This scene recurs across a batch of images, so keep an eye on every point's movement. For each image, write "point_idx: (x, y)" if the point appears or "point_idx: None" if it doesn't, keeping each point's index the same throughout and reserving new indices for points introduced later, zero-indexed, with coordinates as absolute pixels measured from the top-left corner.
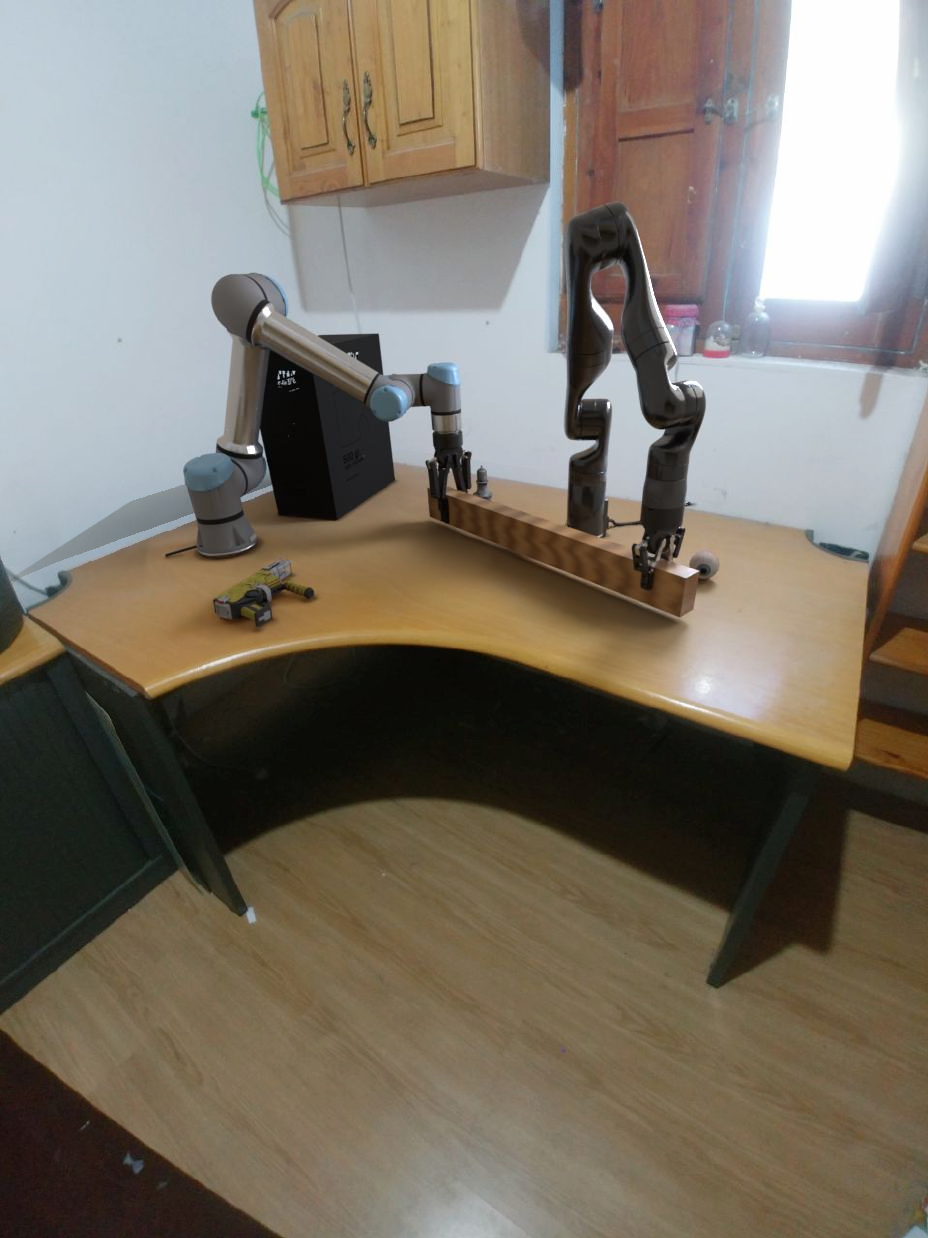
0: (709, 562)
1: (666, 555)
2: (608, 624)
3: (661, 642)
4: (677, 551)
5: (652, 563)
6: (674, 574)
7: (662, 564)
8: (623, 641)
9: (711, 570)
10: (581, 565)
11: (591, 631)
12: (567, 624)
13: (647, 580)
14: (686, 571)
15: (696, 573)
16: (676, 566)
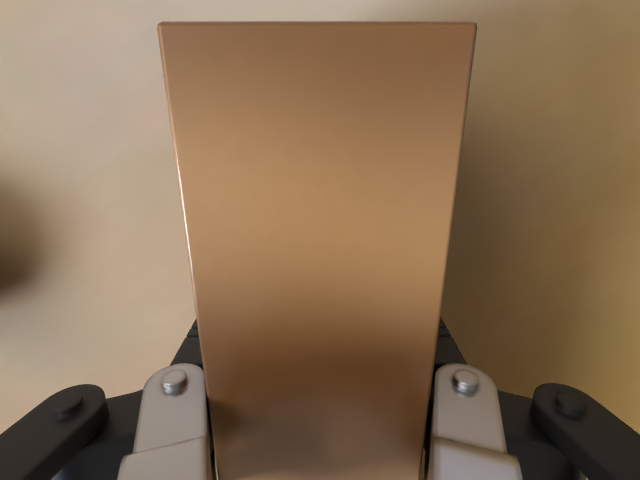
0: None
1: (210, 458)
2: (537, 292)
3: (549, 48)
4: (38, 440)
5: (506, 448)
6: (453, 190)
7: (327, 388)
8: (630, 175)
9: None
10: None
11: (621, 303)
12: (619, 383)
13: (448, 342)
14: (297, 134)
15: (230, 24)
16: (267, 281)
